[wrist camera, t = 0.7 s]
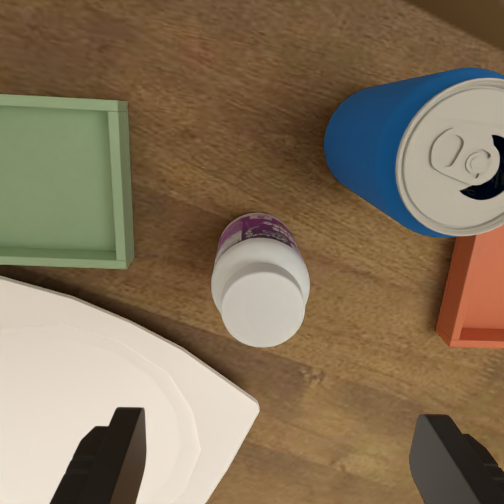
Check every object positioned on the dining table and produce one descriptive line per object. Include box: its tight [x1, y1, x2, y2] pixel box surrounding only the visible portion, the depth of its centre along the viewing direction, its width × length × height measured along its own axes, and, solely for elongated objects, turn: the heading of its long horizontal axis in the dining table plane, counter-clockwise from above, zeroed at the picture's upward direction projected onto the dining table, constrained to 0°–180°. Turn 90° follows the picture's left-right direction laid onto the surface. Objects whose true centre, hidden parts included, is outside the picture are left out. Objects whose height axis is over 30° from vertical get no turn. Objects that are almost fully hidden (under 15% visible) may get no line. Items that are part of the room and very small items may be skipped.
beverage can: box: [324, 68, 504, 238], centre depth 20 cm, size 6×6×12 cm
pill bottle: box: [211, 213, 310, 347], centre depth 23 cm, size 5×5×10 cm
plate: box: [0, 276, 260, 504], centre depth 31 cm, size 24×24×3 cm
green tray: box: [0, 94, 135, 269], centre depth 25 cm, size 10×10×2 cm
